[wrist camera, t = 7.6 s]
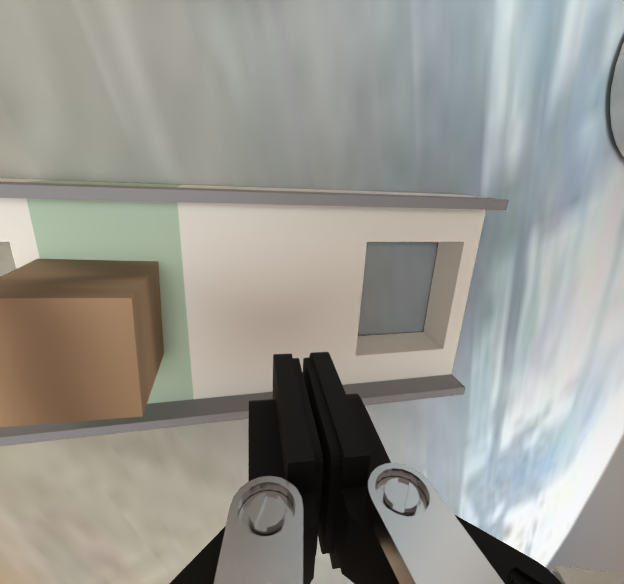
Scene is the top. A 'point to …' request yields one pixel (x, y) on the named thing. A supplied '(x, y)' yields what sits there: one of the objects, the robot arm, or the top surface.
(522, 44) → the top surface
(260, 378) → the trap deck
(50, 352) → the walnut block
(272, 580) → the robot arm
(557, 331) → the top surface
